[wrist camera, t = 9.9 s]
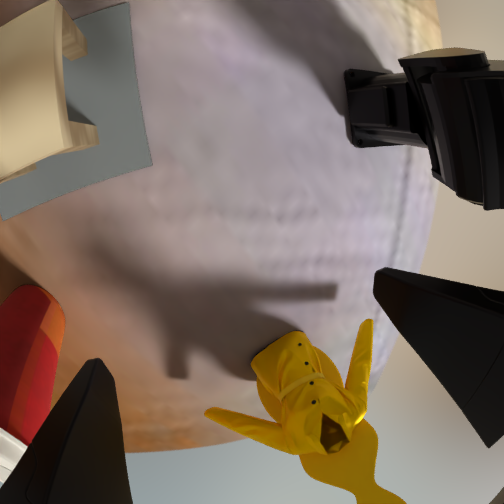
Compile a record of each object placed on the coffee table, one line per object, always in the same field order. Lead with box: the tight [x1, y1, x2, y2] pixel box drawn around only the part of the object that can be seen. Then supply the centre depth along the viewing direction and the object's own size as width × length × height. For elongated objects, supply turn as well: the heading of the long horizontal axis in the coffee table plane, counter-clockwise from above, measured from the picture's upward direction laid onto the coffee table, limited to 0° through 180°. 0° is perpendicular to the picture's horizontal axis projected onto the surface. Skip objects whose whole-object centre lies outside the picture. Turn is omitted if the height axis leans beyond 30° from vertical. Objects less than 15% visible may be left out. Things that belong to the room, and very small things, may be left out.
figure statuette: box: [204, 319, 406, 504], centre depth 17 cm, size 18×8×22 cm, turn 112°
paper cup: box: [0, 285, 65, 483], centre depth 11 cm, size 8×8×14 cm
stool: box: [0, 0, 100, 184], centre depth 9 cm, size 8×6×7 cm
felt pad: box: [0, 2, 152, 221], centre depth 12 cm, size 12×12×1 cm
